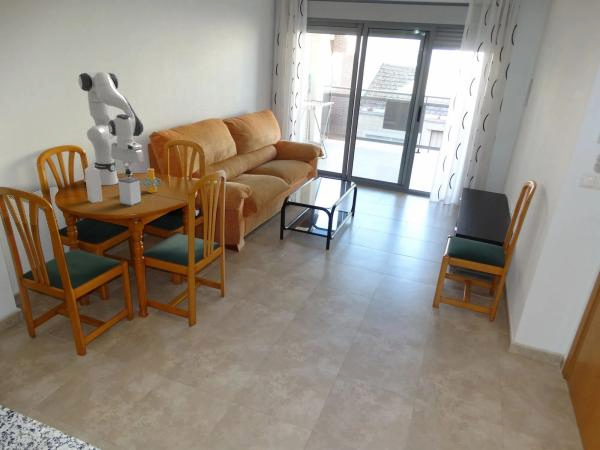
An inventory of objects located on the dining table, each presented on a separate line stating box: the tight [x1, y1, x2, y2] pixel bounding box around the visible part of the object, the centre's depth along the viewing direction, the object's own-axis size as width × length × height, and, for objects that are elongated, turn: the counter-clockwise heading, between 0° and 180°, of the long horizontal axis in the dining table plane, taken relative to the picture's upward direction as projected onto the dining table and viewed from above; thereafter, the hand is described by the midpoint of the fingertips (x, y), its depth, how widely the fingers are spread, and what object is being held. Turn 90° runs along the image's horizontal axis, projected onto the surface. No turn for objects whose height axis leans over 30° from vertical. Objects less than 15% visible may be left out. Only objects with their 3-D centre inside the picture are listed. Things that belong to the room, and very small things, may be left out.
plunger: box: [124, 168, 133, 180], centre depth 241 cm, size 5×5×19 cm
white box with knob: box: [118, 176, 142, 207], centre depth 244 cm, size 8×12×15 cm, turn 159°
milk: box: [84, 163, 103, 204], centre depth 241 cm, size 6×6×22 cm
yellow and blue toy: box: [140, 167, 162, 194], centre depth 266 cm, size 12×10×15 cm
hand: (128, 168), depth 238 cm, fingers closed
